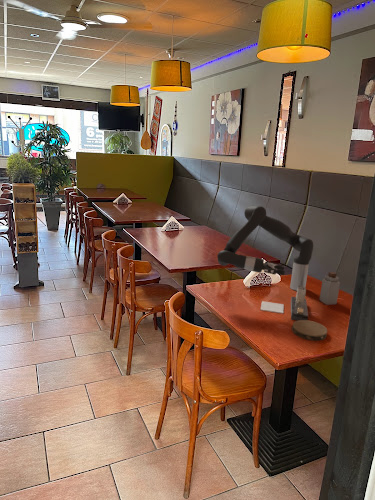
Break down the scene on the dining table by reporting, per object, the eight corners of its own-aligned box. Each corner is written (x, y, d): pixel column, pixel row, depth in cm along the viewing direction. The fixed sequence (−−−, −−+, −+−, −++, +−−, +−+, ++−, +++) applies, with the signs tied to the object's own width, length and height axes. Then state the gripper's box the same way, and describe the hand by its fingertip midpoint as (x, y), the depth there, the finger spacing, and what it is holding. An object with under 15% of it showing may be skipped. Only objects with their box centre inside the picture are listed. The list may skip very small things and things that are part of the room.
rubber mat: (261, 301, 211) (261, 301, 210) (283, 305, 208) (283, 304, 208) (260, 310, 199) (260, 309, 199) (283, 313, 197) (283, 312, 196)
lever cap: (295, 303, 202) (297, 286, 200) (303, 304, 201) (305, 287, 199) (295, 306, 198) (298, 289, 195) (303, 307, 197) (306, 290, 194)
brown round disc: (319, 326, 185) (319, 320, 185) (332, 341, 170) (333, 336, 169) (287, 324, 185) (288, 319, 184) (297, 340, 169) (298, 334, 168)
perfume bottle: (326, 304, 212) (331, 274, 208) (319, 300, 218) (324, 271, 214) (336, 304, 214) (341, 274, 209) (329, 299, 220) (334, 270, 216)
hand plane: (290, 302, 213) (292, 292, 211) (305, 304, 211) (306, 294, 209) (291, 319, 190) (292, 308, 188) (307, 322, 188) (308, 311, 187)
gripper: (254, 260, 192) (286, 267, 189) (255, 254, 205) (285, 260, 203) (251, 274, 194) (283, 281, 191) (253, 267, 207) (282, 273, 204)
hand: (284, 270), depth 197 cm, fingers open, 8 cm apart
